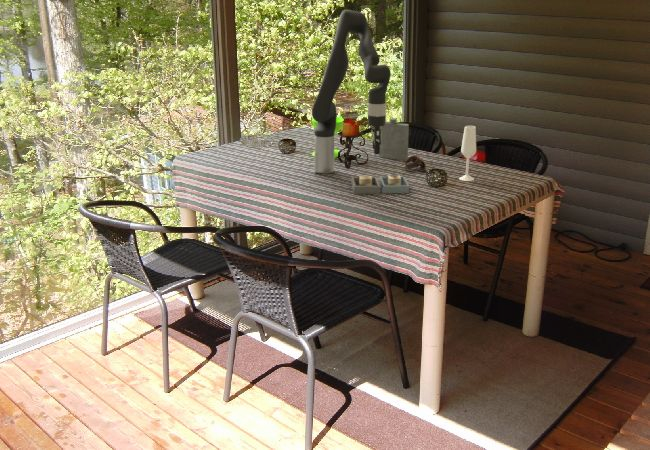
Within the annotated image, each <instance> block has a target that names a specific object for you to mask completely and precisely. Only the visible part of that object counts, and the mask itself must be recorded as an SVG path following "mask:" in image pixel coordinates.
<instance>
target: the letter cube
mask: <svg viewBox="0 0 650 450" xmlns="http://www.w3.org/2000/svg"><path fill="white" fill-rule="evenodd" d="M387 177H388V186H401V177H402V176H401V175H400V174H398V175H397V174H396V175H395V174H391V175H387Z"/></svg>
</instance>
